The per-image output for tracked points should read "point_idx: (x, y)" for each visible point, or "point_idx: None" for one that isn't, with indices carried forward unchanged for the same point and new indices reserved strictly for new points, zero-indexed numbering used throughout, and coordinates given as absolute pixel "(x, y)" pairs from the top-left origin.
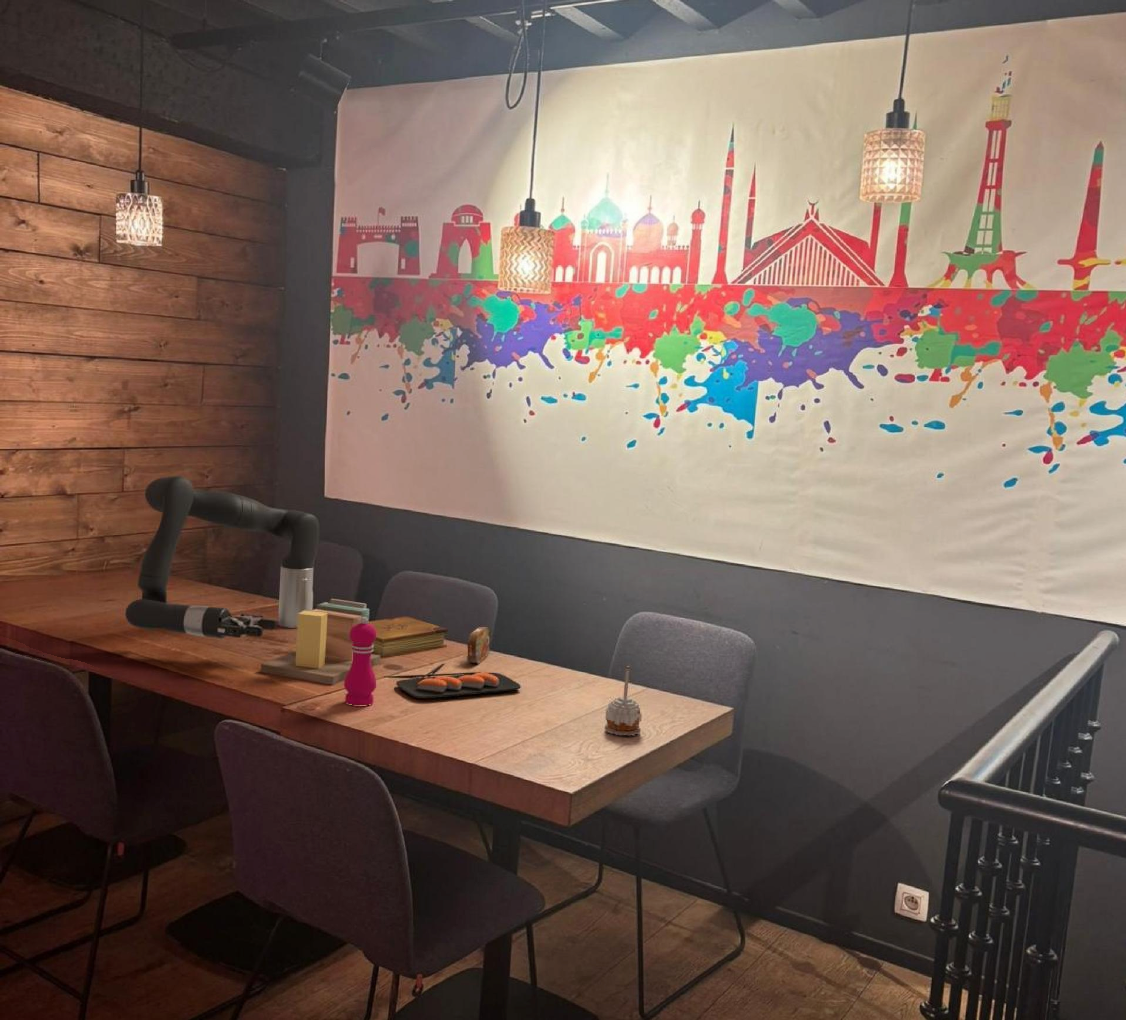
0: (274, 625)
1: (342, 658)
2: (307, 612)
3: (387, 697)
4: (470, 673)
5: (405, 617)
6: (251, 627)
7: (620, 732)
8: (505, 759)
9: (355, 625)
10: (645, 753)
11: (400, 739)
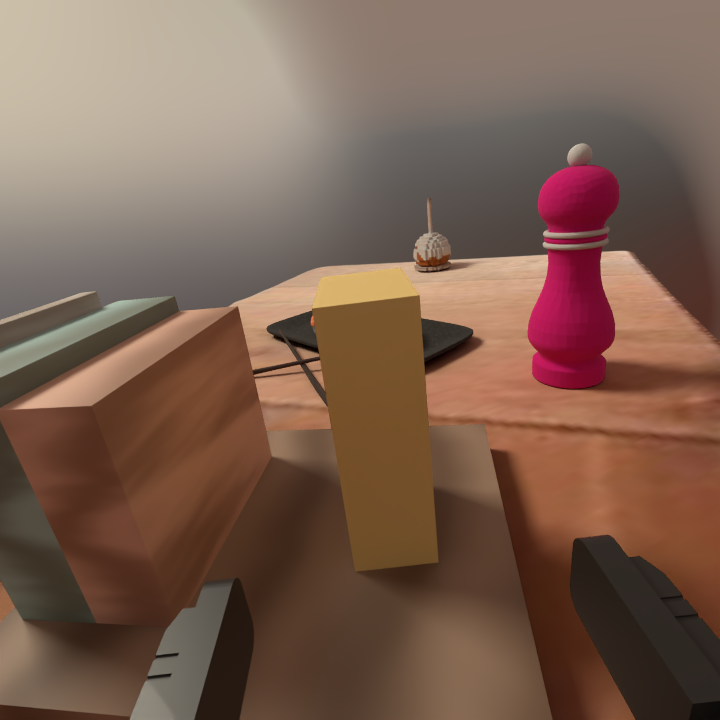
0: (243, 615)
1: (258, 476)
2: (356, 294)
3: (485, 365)
4: (285, 336)
5: None
6: (683, 631)
7: (449, 262)
8: (603, 271)
9: (599, 169)
10: (480, 258)
11: (669, 306)
